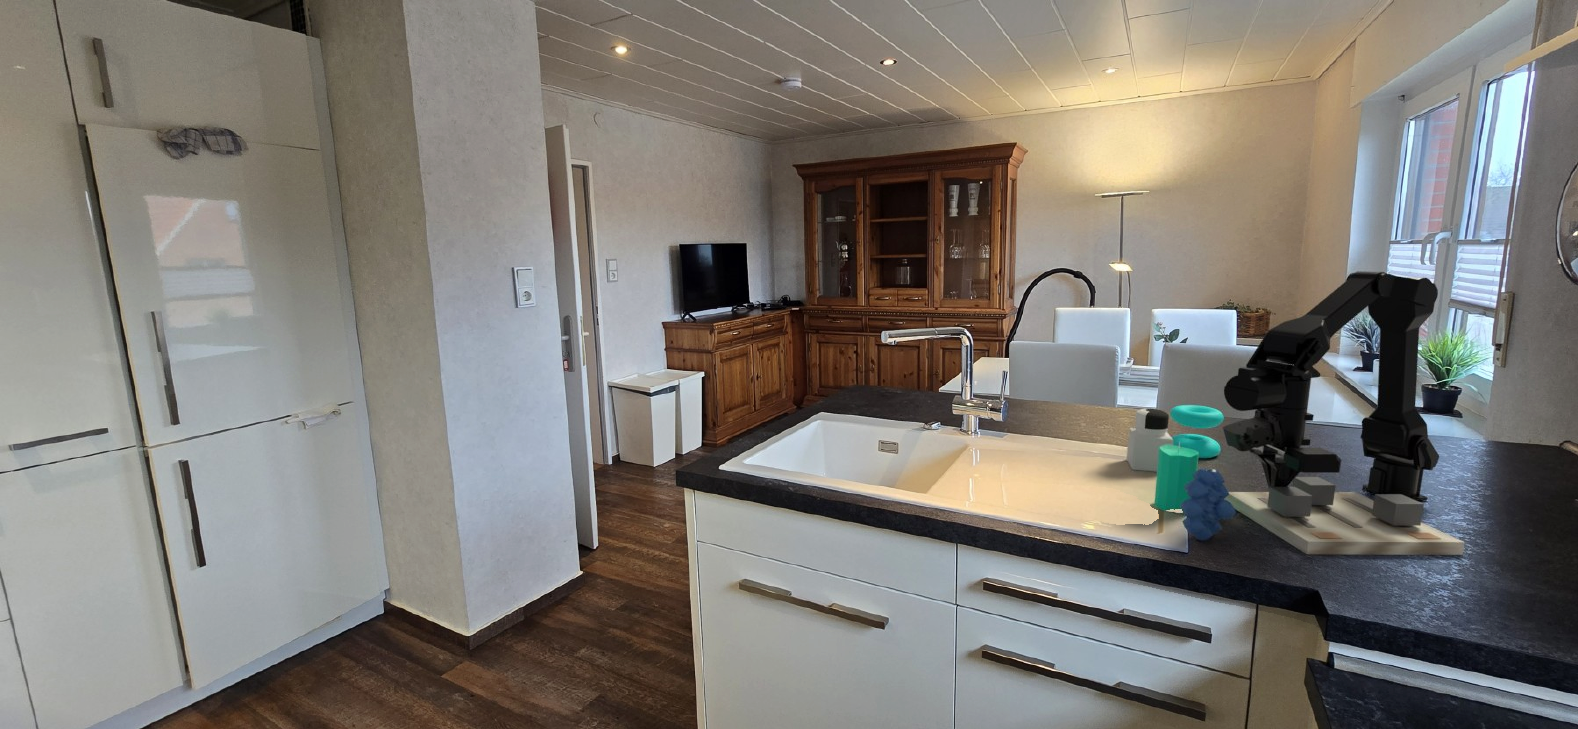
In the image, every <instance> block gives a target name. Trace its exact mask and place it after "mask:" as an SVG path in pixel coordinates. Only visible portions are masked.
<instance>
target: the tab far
mask: <svg viewBox="0 0 1578 729" xmlns="http://www.w3.org/2000/svg"><path fill="white" fill-rule="evenodd" d="M1268 492H1269V497H1268V506H1267V507H1268V508H1270V509H1272V510H1274V511H1275V512H1277V513H1279V514H1280V515H1282V516H1284V517H1310V513H1311V505H1312V497H1313V496H1312V495H1310V494H1308V493H1306V492H1304V491H1302V490H1300V489H1298V488H1296V487H1292V486H1287V487H1270V488H1268Z"/></svg>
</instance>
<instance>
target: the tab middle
mask: <svg viewBox="0 0 1578 729" xmlns="http://www.w3.org/2000/svg"><path fill="white" fill-rule="evenodd" d="M1336 486H1337V485H1336V484H1333V483H1332V482H1330V481H1327V480H1325V479H1323V478H1321V477H1319V476H1296V477H1295V478H1294V479H1293V480H1292V485H1291V487H1296V488H1298V489H1300V490H1302V491H1304V492H1306V493H1308V494H1310V495H1312V496H1313V497H1312V505H1333V501H1334V494H1335V492H1336Z"/></svg>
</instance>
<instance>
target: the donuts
mask: <svg viewBox="0 0 1578 729" xmlns="http://www.w3.org/2000/svg"><path fill="white" fill-rule="evenodd" d="M1169 417H1170V418H1171V419H1172V420H1173V421H1174V422H1175V423H1177V424H1178V425H1182V426H1185V427H1189V428H1194V429H1196V428H1197V429H1211V428H1215V427H1217V426H1220V425H1221V424H1222V423H1223V422H1224V418H1225V417H1224V415H1223V413H1222V412H1221V410H1218V409H1216V408H1213V407H1209V406H1204V405H1197V404H1182V405H1180V404H1179V405H1176V406H1175V407H1172V408H1171V409H1170V412H1169ZM1171 438H1172V439H1173V445H1174V446H1179V442H1180V447H1183V448H1187V449H1192V450H1196V451H1197V452H1199V458H1198V459H1211V458H1214V457H1216V456H1219V454H1221V448H1222V447H1221V446H1220V444H1219V443H1218V441H1216V440H1215V439H1213V438H1211V437H1209V436H1206V435H1202V434H1196V433H1180V434H1175V435H1173V436H1171Z"/></svg>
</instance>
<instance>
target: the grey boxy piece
mask: <svg viewBox="0 0 1578 729" xmlns="http://www.w3.org/2000/svg"><path fill="white" fill-rule="evenodd" d="M1373 500H1374V504H1373V511H1372V515H1373V516H1375V517H1377V518H1379V519H1381V520H1383V521H1385V522H1387V523H1389V524H1391V525H1407V526H1421V522H1422V519H1423V512H1424V506H1425V504H1424V502H1420V501H1419V500H1413V499H1411V498H1409V497H1406V496H1404V495H1402V494H1376V493H1374V499H1373Z"/></svg>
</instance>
